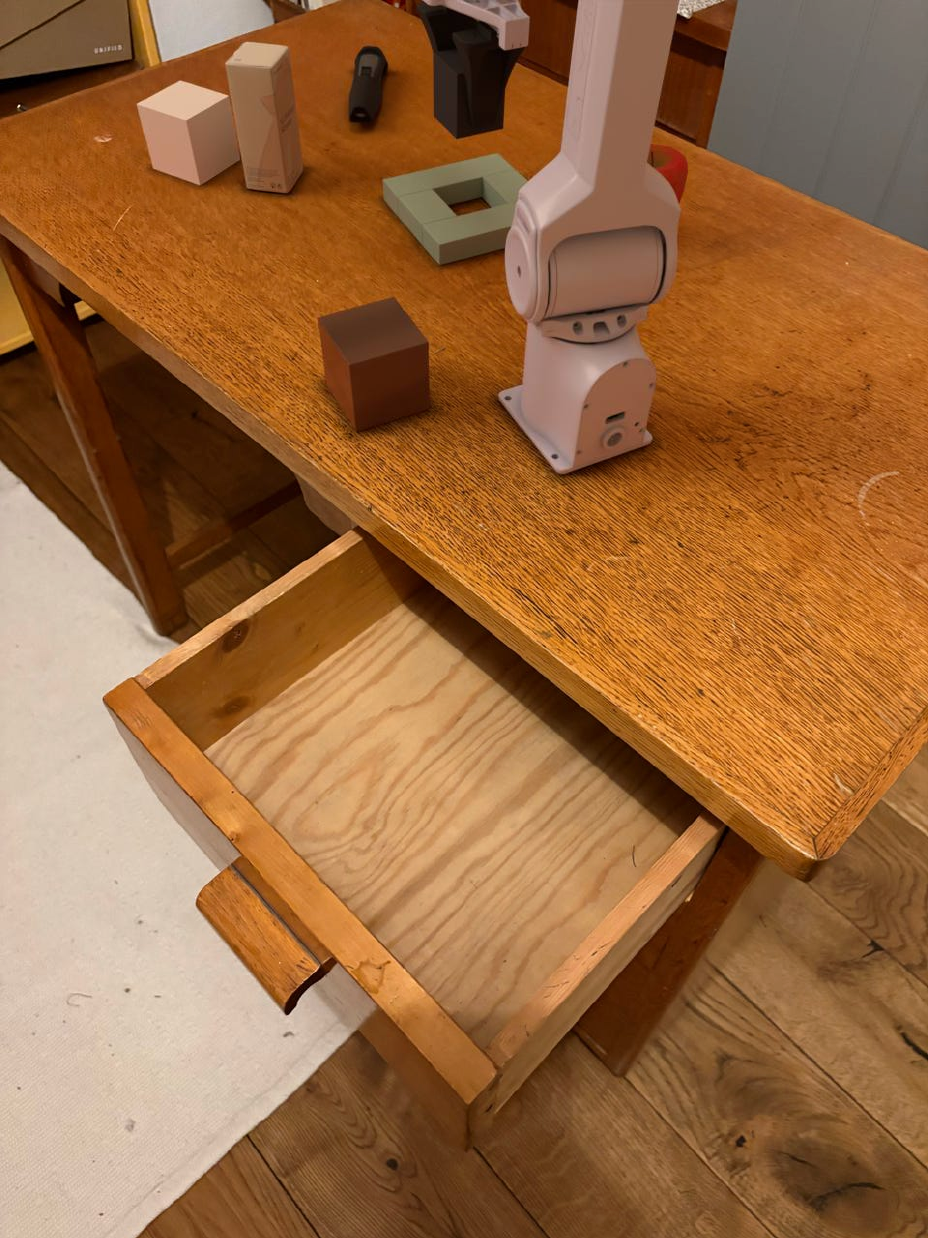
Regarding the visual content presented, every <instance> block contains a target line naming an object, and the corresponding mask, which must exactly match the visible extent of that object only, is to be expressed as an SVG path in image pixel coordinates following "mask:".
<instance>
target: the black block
mask: <svg viewBox="0 0 928 1238" xmlns="http://www.w3.org/2000/svg"><path fill="white" fill-rule="evenodd" d="M432 53H433V52H432ZM432 55H433V57H432V58H433V59H432V60H433V61H432V62H433V66H432V67H433V69H432V70H433V72H432V73H433V74H432V75H433V118H434V119H435V120H436V121H437V122H438V123H439V124H441V126H443V128H444V129H446V130H447V132H448V133H449V134H451V136H453V138H455V140H461V139H464V138H468V137H473V136H477V135H482V134H486V133H487V134H488V133H491V132H497V131H501V130H503V129H504V122H505V104H506V102H505V101H506V91H505V92H504V95H503V98H502V102H501V106H500V109H499V113H498V116H497V119H496V123H495V124H493V125H488V126H484V127H479V128H473V127H472V126H471V124H470V120H469V116H468V109H467V98H466V85H465V78H464V72H463V67H462V63H461V60H460V56H459V53H458V50H457V48H455V49H449V50H444V51H439V52H434V53H433V54H432Z"/></svg>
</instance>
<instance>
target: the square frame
mask: <svg viewBox="0 0 928 1238" xmlns="http://www.w3.org/2000/svg"><path fill="white" fill-rule="evenodd" d="M528 181H529V180H528V179H527V178H525V177H524V176H523V175H522V174H521V172H519V171H518V170H517V169H516V168H515V167H514V166H512V165H511V164H510V163H509V162H508V161H507V160H506V159H505V158H504V157H503V156H502V155H501V154H499V152H496V153H492V154H488V155H483V156H478V157H474V158H470V159H466V160H461V161H457V162H453V163H448V164H443V165H439V166H435V167H431V168H426V169H422V170H418V171H417V170H416V171H413V172H409V173H405V174H400V175H396V176H392V177H387V178H382V195H383V197H382V198H383V201H384V202H385V204H387V206H388V207H389V208H390V210H391V211H393V213H394V214H395V215H396V217H398V219H399V220H400V221H401V222H402V224H404V226H405V227H406V228H407V229H408V231H409V232H410V233H411V234H412V235H413V236H414V238H416V240H417V241H418V242H419V243H420V244H421V246H422V247H423V248H424V250H425V251H426V252H428V254H429V255H430V256H431V257H432V258H433V260H434V261H435V262H436V263H437V264H438V266H442V265H446V264H450V263H454V262H457V261H461V260H465V259H470V258H472V257H473V258H474V257H477V256H481V255H483V254H487V253H492V252H496V251H500V250H503V249H505V245H506V239H507V235H508V233H509V231H510V229H511V226H512V223H513V219H514V214H515V207H516V202H517V201H518V193H519V190H520V189H521V188H522V187H523V186H524V185H525V184H526V183H527V182H528ZM480 198H482V199H483V200H484V201H485V202H486V203H487V204H488V205H489V206H490V207H489V208H485V209H481V210H477V211H473V212H468V213H465V214H461V215H457V214H456V213H455V212H454V211H453V209H451V208H450V206H451V205H455V204H459V203H464V202H467V201H471V200H476V199H480Z"/></svg>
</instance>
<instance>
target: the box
mask: <svg viewBox="0 0 928 1238" xmlns="http://www.w3.org/2000/svg"><path fill="white" fill-rule="evenodd" d="M225 69H226V76H227V82H228V87H229V95H230V101H231V104H232V105H231V106H232V113H233V118H234V124H235V130H236V136H237V142H238V148H239V153H240V159H241V164H242V169H243V175H244V180H245V181H244V182H245V186H246V189H248V190H255V191H261V192H262V191H263V192H271V193H272V192H273V193H281V194H288V193H290V191H291V190H292V188H293V187H294V185H296V182H297V181H298V179H299V178H300V176H301V175H302V173H303V172H304V163H303V156H302V155H303V154H302V147H301V137H300V129H299V122H298V114H297V105H296V96H295V87H294V81H293V71H292V65H291V56H290V47H289V46H287V45H282V44H273V43H265V42H255V41H245V42H243V43H242V44H241V45H240V46H239V47H238V48H237V49H236V50H235V51H234V52H233V54H232V55H231V56H230V57H229V59H228V60H226V62H225Z"/></svg>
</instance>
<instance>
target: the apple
mask: <svg viewBox="0 0 928 1238" xmlns="http://www.w3.org/2000/svg"><path fill="white" fill-rule="evenodd" d="M647 163H648V164H649V165H651V166H652V167H653V168H654V169H656V170H657V171H658V172H659V173H661V174H662V175H663V177H664V178H665V179H666V180H667V181H668V182H669V184H670V185H671V187H672V189H673V191H674V193H675V195H676V198H677V200H678V203H679V204H680V202H681V200H682V198H683V194H684V192H685V187H686V184H687V178H688V175H689V164H688V160H687V157H686V155H684V154H683V153H682V152H681V151H680V150H678V149H676V148H675V147H672V146H668V145H663V144H656V143H655V144H653V143H651V144H650V149H649V154H648V159H647Z"/></svg>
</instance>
